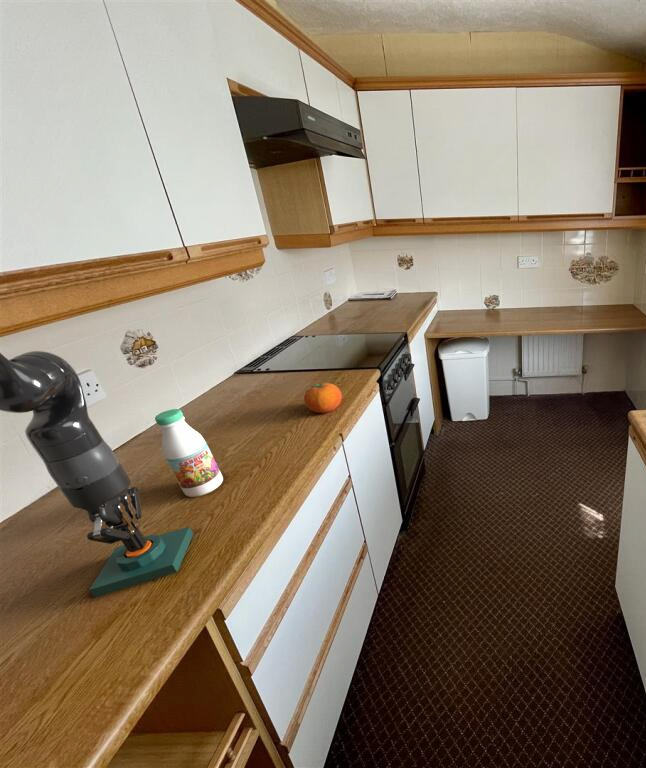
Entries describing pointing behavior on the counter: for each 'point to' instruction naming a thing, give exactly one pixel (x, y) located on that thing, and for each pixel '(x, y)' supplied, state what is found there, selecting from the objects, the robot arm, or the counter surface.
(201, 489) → the milk bottle
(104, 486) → the robot arm
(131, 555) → the orange push button
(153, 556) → the cap housing
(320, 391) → the fruit
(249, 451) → the counter surface
